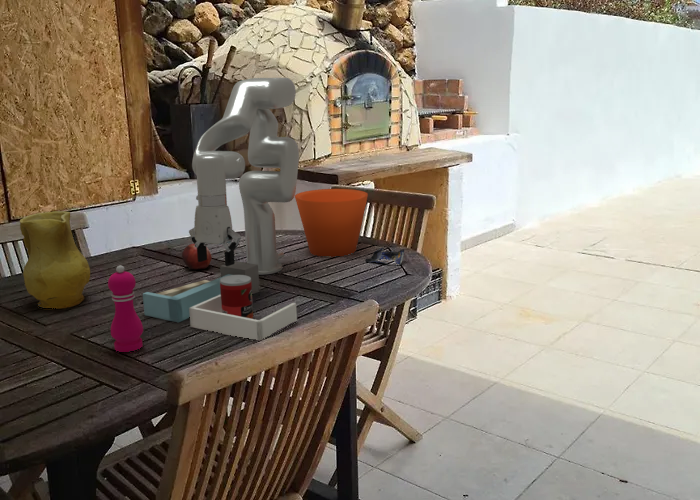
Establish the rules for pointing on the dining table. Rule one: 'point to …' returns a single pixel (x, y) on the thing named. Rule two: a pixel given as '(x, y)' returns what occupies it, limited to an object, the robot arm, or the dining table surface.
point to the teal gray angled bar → (195, 294)
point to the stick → (182, 288)
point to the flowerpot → (332, 219)
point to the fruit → (195, 258)
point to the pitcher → (53, 260)
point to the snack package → (386, 256)
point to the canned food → (237, 295)
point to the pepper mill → (124, 312)
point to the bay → (239, 320)
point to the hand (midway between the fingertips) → (216, 263)
